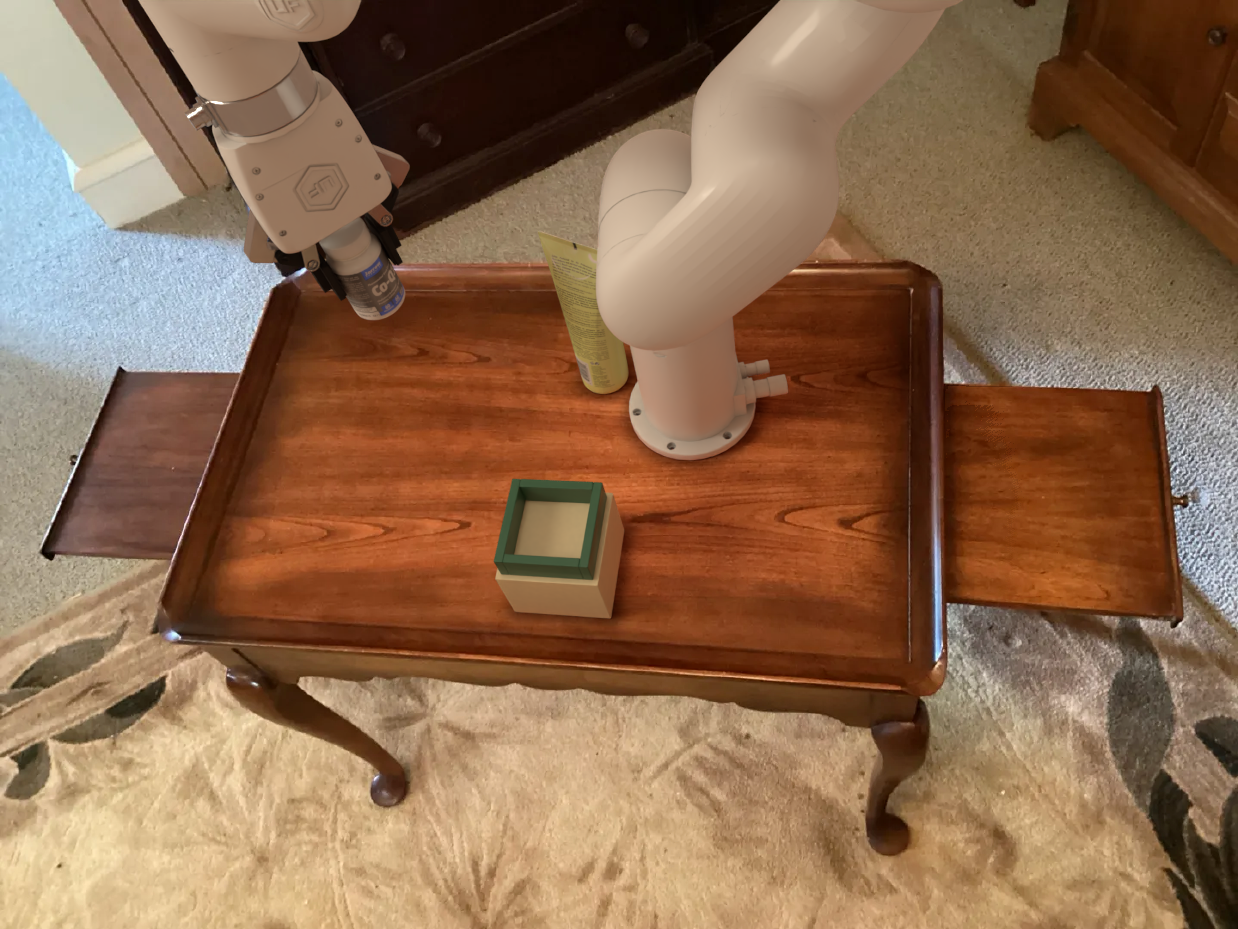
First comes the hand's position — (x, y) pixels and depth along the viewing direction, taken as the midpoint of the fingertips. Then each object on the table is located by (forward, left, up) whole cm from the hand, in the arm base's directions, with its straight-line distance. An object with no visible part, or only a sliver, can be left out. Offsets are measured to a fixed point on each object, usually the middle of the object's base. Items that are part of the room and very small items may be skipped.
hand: (364, 271), depth 81 cm
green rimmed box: (-11, +19, -23) cm, 32 cm away
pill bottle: (0, 0, -4) cm, 4 cm away
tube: (-17, -2, -23) cm, 29 cm away
